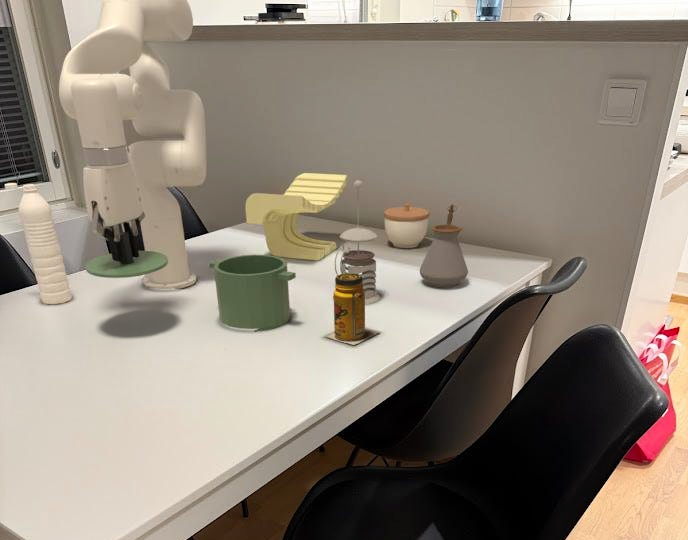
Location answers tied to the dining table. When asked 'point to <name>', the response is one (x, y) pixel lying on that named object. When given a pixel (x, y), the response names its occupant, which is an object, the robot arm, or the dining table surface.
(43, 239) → the water bottle
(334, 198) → the slatted curved stool
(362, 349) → the dining table surface
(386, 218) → the lidded bowl
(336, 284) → the condiment
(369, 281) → the french press
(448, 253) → the coffee pot
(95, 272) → the lid
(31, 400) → the dining table surface
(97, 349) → the dining table surface
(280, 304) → the chamber
